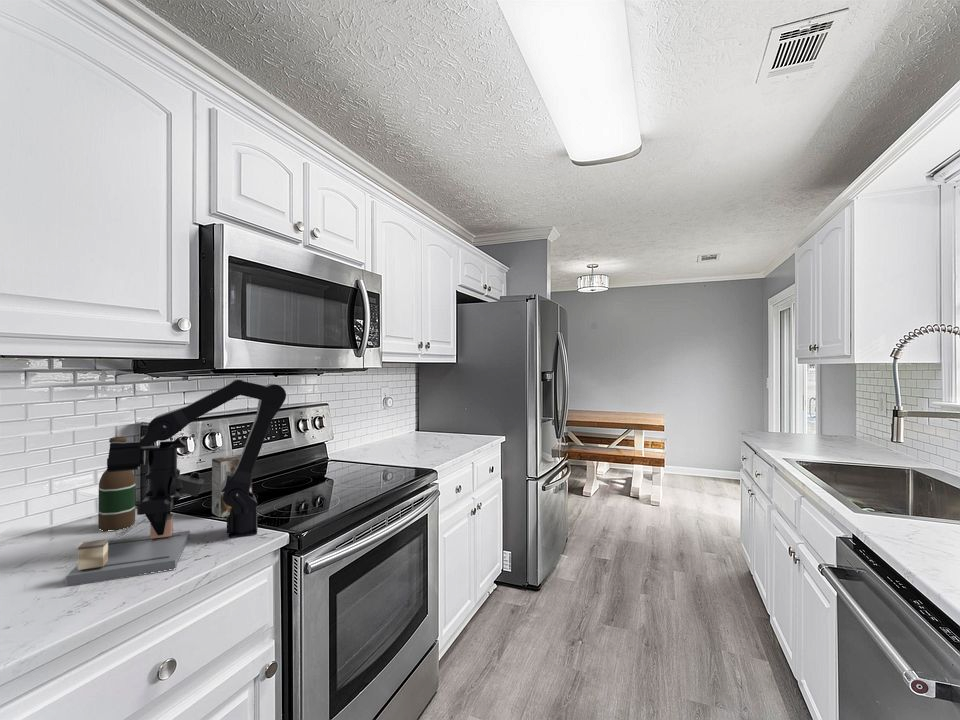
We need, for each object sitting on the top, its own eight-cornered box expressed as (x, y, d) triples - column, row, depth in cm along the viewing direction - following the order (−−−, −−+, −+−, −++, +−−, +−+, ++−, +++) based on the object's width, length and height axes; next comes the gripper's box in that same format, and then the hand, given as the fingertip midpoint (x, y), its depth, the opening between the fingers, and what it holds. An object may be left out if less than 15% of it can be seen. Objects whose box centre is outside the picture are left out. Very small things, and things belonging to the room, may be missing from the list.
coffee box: (243, 506, 142) (243, 453, 142) (252, 510, 138) (253, 456, 138) (210, 513, 135) (211, 458, 135) (219, 518, 131) (220, 461, 131)
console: (189, 538, 115) (189, 530, 115) (175, 569, 98) (175, 559, 98) (99, 550, 108) (99, 541, 108) (66, 586, 91) (66, 575, 91)
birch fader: (108, 560, 97) (108, 539, 97) (103, 566, 94) (103, 544, 94) (83, 564, 95) (83, 542, 95) (77, 570, 92) (77, 547, 92)
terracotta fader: (173, 532, 113) (173, 513, 113) (170, 536, 110) (170, 517, 110) (153, 534, 112) (153, 515, 112) (149, 538, 109) (150, 519, 109)
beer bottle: (115, 533, 119) (117, 439, 119) (90, 531, 120) (91, 438, 121) (142, 523, 127) (143, 435, 127) (117, 521, 128) (119, 434, 128)
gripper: (195, 472, 106) (195, 541, 106) (206, 457, 123) (205, 516, 123) (136, 477, 101) (136, 548, 101) (156, 461, 118) (155, 522, 118)
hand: (162, 532), depth 111 cm, fingers closed on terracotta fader, 3 cm apart
